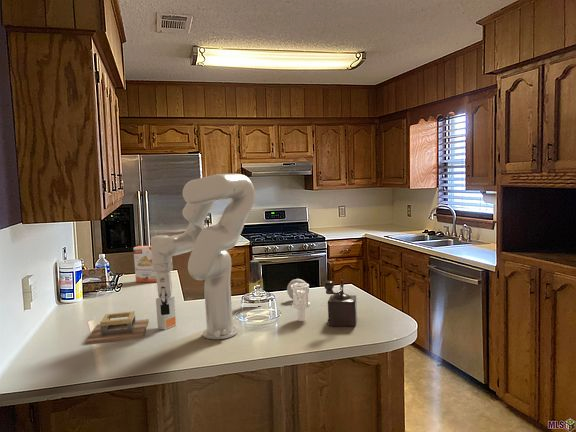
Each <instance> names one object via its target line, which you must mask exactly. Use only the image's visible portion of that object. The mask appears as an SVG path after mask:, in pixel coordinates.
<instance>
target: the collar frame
mask: <svg viewBox="0 0 576 432" xmlns="http://www.w3.org/2000/svg"><path fill="white" fill-rule="evenodd" d="M117 318H118V319H117ZM136 320H137V319H136V311H126V312H125V311H124V312H114V313H107V314H104V316H103V318H102V319H101V320H100V322H99V324H100V326H101V335H110V334H119V333H129V332H132V331H133V329H134V327H135V324H136ZM118 326H127V327H128V328H119V329H109V328H110V327H118Z"/></svg>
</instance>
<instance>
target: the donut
mask: <svg viewBox="0 0 576 432" xmlns="http://www.w3.org/2000/svg"><path fill="white" fill-rule="evenodd" d="M295 283H306V284H308V283H307V281H305V280H303V279H300V278H296V279H292V280H291V281H290V282H289V283H288V284H287V287H286V292H287V295H288V297H290V299H291V300H293V290H292V289H291V285H293V284H295ZM298 287H305V286H298ZM304 291H305V290H304ZM309 291H310V287H309V288H308V294H309Z"/></svg>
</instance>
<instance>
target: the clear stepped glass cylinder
mask: <svg viewBox="0 0 576 432" xmlns="http://www.w3.org/2000/svg"><path fill="white" fill-rule="evenodd" d="M306 283H307V282H306ZM306 283H295V284H293V285H291V289H292V290H293V299H292V303H291V308H293V309H296V311H297V321H298V322H304V321H306V320H307V319H306V309H307V308H310V307H311V303H310V301H309V293H308V288H309V289H310V284H309V283H307V284H306ZM299 286H305V287H299ZM304 290H305V291H304Z"/></svg>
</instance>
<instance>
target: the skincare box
mask: <svg viewBox="0 0 576 432" xmlns="http://www.w3.org/2000/svg"><path fill="white" fill-rule="evenodd" d="M165 299H166V298H165ZM175 301H176V300H175V296H174V295H172V296H171V297H170V296H168V304H169V310H170V314H168V315H161V307H160V305H161V298H159V297H158V298H155V304H156V306H155V307H156V316H157V317H156V319H157V321H156V322H157V329H158V330H159V329H160V330H168V329H170V328H173V327H177V319H176V303H175Z"/></svg>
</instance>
